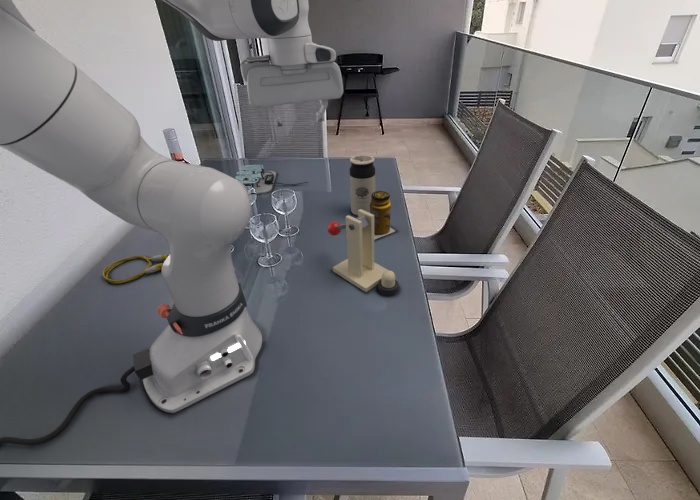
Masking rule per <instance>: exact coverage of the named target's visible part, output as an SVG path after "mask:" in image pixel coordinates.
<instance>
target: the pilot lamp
mask: <svg viewBox="0 0 700 500" xmlns="http://www.w3.org/2000/svg"><path fill="white" fill-rule="evenodd" d="M377 291H378V293H379V294H380V295H382V296H385V297H392V296H395V295H397V293H398V292H399V281H398V280H396V274H395V273H394V271H392V270H389V269H387V271H385V272H383V274H382V279H381V280H379V282H378V285H377Z"/></svg>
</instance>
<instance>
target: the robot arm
mask: <svg viewBox="0 0 700 500" xmlns="http://www.w3.org/2000/svg"><path fill="white" fill-rule="evenodd" d="M161 1H162V2H164V3H165V4H167V5H169V6H170V7H172V8H173V9H175V10H177V11H178V12H179V13H180V14H182V15H183V16H184V17H185V18H186V19H187V20H188V21H189V22H190V23H191V24H192V25H193V27H195V29H196V30H197V31H198V32H199V33H201V35H203V36H204V37H205V38H207V39H209V40H210V41H214V42H222V41H229V40H253V39H254V40H255V39H266V44H267V50H268V54H264V55H257V56H247V57H246V59H244V60H242V62H241V63H240V72H241V77H242V79H243V81H245V82H246V90H247V98H248V104H249V105H250V106H251V107H252V108H265V107H266V110H267V112H268V114H270V116H271V117H272V118H273V120H274V125H275V127H276V128H279V127H283V120H282V116H277V115H276V114H275V111H276V110H275V106H282V105H292V104H299V103H300V104H301V103H308V102H318V101H319V104H320V105H321V106H320V108H319V111H316V112H315V119H316V122H317V123H319V122H325V115H324V114H325V112H326V110H327V109H328V106H329V100H336V99H341V98H342V96H343V95H344V84H343V77H342V72H341V68H340V66H339V65H338V63H337V62H335V61H336V60H337V52H336V50H335V49H334V48H332V47H330V46H327V45H322V43H318V42H313V37H312V31H311V28H310V24H309V11H310V4H309V0H161ZM140 127H141V126H140V124H139V122H138V120H137V118H136V117H135V116H134V115H133V113H131V112H130V111H129V110H128V109H127V108H126V107H125V106H123V104H121V103H120V102H119V100H117V99H116V98H115V97H113V96H112V95H111V94H110V93H109V92H107V91H106V90H105V88H103V87H102V86H101V85H99V84H98V83H97V82H96V81H95V80H93V78H92V77H90V76H89V75H87V74H86V73H85V72H84V71H83V70H82V69H80V67H79V66H77V65H76V64H75V63H74V62H72V60H70V59H69V58H68V57H67V56H65V54H63V53H62V52H61V51H59V49H57V47H55V46H54V45H52V44H51V43H50V42H49V41H48V40H46V39H45V38H43V37H42V36H41V35H40V34H38V33H37V32H36V30H35V29H34V27H33V26H32V25H31V24H30V23H29V22H28V21H27V19H26V18H25V17H24V15H22V13H21V12H20V11H19V9H18V8H17V7H16V5H15V3H14V2H13V0H0V148H2V149H3V150H6V151H7V152H8V153H11V154H13V155H14V156H17V158H20V159H23V160H24V161H26V162H27V163H29V164H31V165H32V166H34V167H36V168H38V169H40V170H41V171H43V172H46V173H47V174H49V175H51V176H53V177H55V178H56V179H58V180H60V181H62V182H63V183H65V184H66V185H67V184H68V185H69V186H71V187H72V188H74V189H75V190H76V191H78V192H80V193H82V194H83V195H84V196H85V197H87V198H88V199H90V201H92V202H93V203H95V204H97V205H98V206H99V207H101V208H102V209H104V210H106V211H108V212H109V213H111V214H112V215H114V216H116V217H117V218H119V219H121V220H122V221H124V222H126V223H127V224H130V225H132V226H134V227H138V228H142V229H144V230H145V229H146V230H148V231H152V232H155V233H158V234H159V235H160V236H161V237H162V238H163V239H164V240H165V241H166V243H167V246H168V249H169V254H168V255H169V256H168V257H167V259H166V260H164V261H163V263H162V270H161V276H162V279H163V281H164V284H165V286H166V288H167V290H168V292H169V294H170V297H171V299H172V301H173V305H172V307H171V306H170V305H169V304H167V303H162V304H160V305H158V307H157V309H156V311H157V313H158V314H159V315H160V317H161V318H162V319H166V320H167V323H168V324H167V325H166V327H165V328H164V330H163V331H162V332H161V333H160V334H159V335H158V337H157V338H156V339H155V340H154V341H153V343H152V344H151V346H150V347H149V348H147V349H143V350H142V351H139V352H136V353H133V354H132V357H133V365H132V366H131V367H130V368H129V369H127V370H126V371H125V372H123V374H122V375H121V377H120V384H121V385H122V386H121V387H112V386H103V387H98V388H94V389H91V390H90V391H88V392H87V393H85V394H84V395H83V396H81V397H80V398H79V399H78V401H77V402H76V403H75V404H74V405H73V406H72V408H71V410H70V411H69V413H68V414H67V416H66V417H65V419H63V421H62V422H61V424H60V425H59V426H58V427H57V428H55V429H54V430H53V431H51V432H50V433H48V434H46V435H44V436H41V437H37V438H22V437H15V436H14V437H13V436H2V437H0V444H13V445H21V446H34V445H40V444H43V443H46V442H48V441H50V440H52V439H54V438H55V437H57V436H58V435H59V434H61V433H62V432H63V431H64V430H65V429H66V428H67V427H68V425H69V424H70V423H71V421H72V420H73V418H74V417H75V415H76V413H77V412H78V411H79V409H80V407H81V406H82V405H83V404H84V403H85V402H86V401H87V400H89V399H90V398H91V397H92V396H95V395H97V394H102V393H125V392H126V391H128V390H129V389H130V388H131V383H130V382H129V381H128V380H127V379H128V377H129V376H130V375H132V374H133V373H135V374H136V376H137V378H138V380H140V381H142V383H143V387H144V389H145V391H146V394H147V396H148V398H149V399H150V401H151V403H152V404H154V406H156V407H157V408H158V409H159V410H161V411H162V412H165V413H169V414H175V413H178V412H180V411H181V410H183V409H185V408H187V407H189V406H191V405H193V404H196V403H198V402H199V401H201V400H203V399H206V398H207V397H209V396H212V395H214V394H215V393H218V392H220V391H221V390H224V389H225V388H227V387H229V386H232V385H233V384H235V383H237V382H239V381H241V380H243V379H245V378H247V377H249V376H251V375H252V374H253V373H254V372H255V367H256V358H257V357H258V354H259V353H260V351H261V348H262V345H263V334H262V332H261V330H260V329H259V327H258V326H257V324H256V323H255V322H254V320H253V319H252V317H251V315H250V313H249V311H248V308H247V306H248V304H247V298H246V294H245V291H244V289H243V286H242V284H241V283H240V282H238V278H237V274H236V270H235V267H234V262H233V258H232V244H233V242H235V241H236V240H237V239H239V237H240V236H241V235H242V234H243V233H244V232H245V230H246V229H247V227H248V224H249V222H250V219H251V214H252V203H251V197H250V194H248V191H247V189H246V188H245V186H244V185H243V184H242V183H241V182H240V181H238V180H236V178H235V177H232V176H230V175H228V174H227V173H224V172H222V171H220V170H218V169H216V168H214V167H211V166H210V167H208V166H205V165H200V164H199V165H198V164H193V163H187V162H182V161H178V160H174V159H172V158H169V157H166V156H165V155H163V154H161V153H159V152H158V151H156V150H154V149H153V148H152V147H151V146H150V145H149V144H148V143H147V142H146V139H144V137H143V136H142V134H141V128H140Z"/></svg>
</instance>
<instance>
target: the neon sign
mask: <svg viewBox="0 0 700 500" xmlns="http://www.w3.org/2000/svg"><path fill="white" fill-rule="evenodd" d="M239 170H240V171H237V172H236V174H235V175H236V176H234V179H236V180H238V181H240V182H241V183H242V184H243V185H245V186H251V185H252V187H253V188H254V189H255V192H256V194H255V195H261V194H262V195H263V194H267V193H269V192H271V191H273V186H274V184H278V185H284V186H295V185H303V184H307V183H309V181H305V182H299V183H283V182H275V180H276V177H277V172H276V171H274V170H265V168H264V165H263V164H249V165H248V164H247V165H241V166H240V167H239Z"/></svg>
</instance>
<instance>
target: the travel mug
mask: <svg viewBox="0 0 700 500" xmlns="http://www.w3.org/2000/svg"><path fill="white" fill-rule="evenodd" d="M374 161H375V157H374V156H372V155H370V154H357V155H353V156H352V157H350V159H349V162H350V168H349V189H350V191H349V192H350V193H349V194H350V212H351V213H352V214H353V215H354V216H358V210H360V209H362V210H364V211H366V212H369V213H370V202H371V198H372V197H371V195H372V193H373V192H376V167H375V166H374Z"/></svg>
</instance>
